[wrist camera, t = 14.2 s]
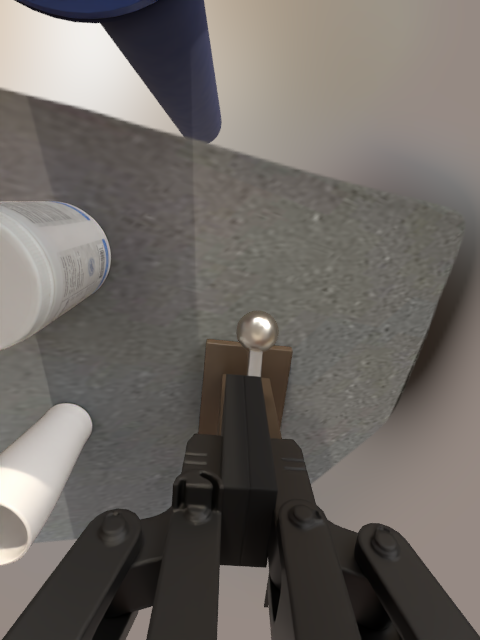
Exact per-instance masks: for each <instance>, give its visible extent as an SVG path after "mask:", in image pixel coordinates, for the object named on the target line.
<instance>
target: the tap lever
mask: <svg viewBox="0 0 480 640" xmlns="http://www.w3.org/2000/svg"><path fill="white" fill-rule="evenodd" d="M236 333H237V338H238V341H239V343H240V344H241V345H242V347H244V348H245V349H246V350H248V351H249V355H248V367H247V376H258V377H261V366H262V354H263V352H265V351H267V350H269V349H270V348H272V347H273V346H274V344H275V343H276V341H277V339H278V334H279V330H278V325H277V323H276V321H275V319H274V318H273V317H272V316H271V315H270V314H268V313H266V312H263V311H252V312H249V313H247V314H246V315H244V316H243V317H242V318H241V319H240V321H239V323H238V325H237V330H236Z"/></svg>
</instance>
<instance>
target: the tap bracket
mask: <svg viewBox="0 0 480 640" xmlns="http://www.w3.org/2000/svg"><path fill="white" fill-rule="evenodd" d="M292 352H293V351H292V348H291V347H285V346H275V345H274V346H273V347H272V348H270V349H269V350H267V351H265V352H263V354H262V366H261V380H262V387H263V394H264V400H265V407H266V414H267V420H268V427H269V434H270V438H278V439H282V438H281V433H280V427H281V421H282V414H283V408H284V402H285V396H286V390H287V383H288V377H289V371H290V365H291V359H292ZM248 355H249V351H248V350H246V349H245V348H244V347H242V345H241V344H240V343H239V342H233V341H223V340H213V339H207V342H206V351H205V363H204V374H203V386H202V397H201V409H200V420H199V432H198V434H207V435H221V427H222V416H223V405H224V394H225V383H226V374H233V375H246V376H247V367H248Z"/></svg>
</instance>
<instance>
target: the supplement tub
mask: <svg viewBox="0 0 480 640" xmlns="http://www.w3.org/2000/svg"><path fill="white" fill-rule="evenodd" d="M110 264H111V252H110V246H109V243H108V240H107V237H106V235H105V233H104V232H103V230H102V228H101V227H100V226H99V224H98V223H97V222H96V221H95V220H94V219H93V218H92V217H91V216H90V215H88V214H87V213H86V212H84V211H83V210H81V209H79V208H77V207H75V206H73V205H70V204H67V203H63V202H57V201H6V202H0V351H1V350H3V349H6V348H9V347H11V346H13V345H15V344H17V343H20V342H22V341H24V340H26V339H27V338H29V337H30V336H32V335H34V334H35V333H37V332H38V331H40V330H41V329H43V328H44V327H46V326H47V325H48V324H50V323H51V322H53V321H54V320H56V319H57V318H59V317H60V316H61V315H63V314H64V313H66V312H67V311H69V310H70V309H72V308H73V307H74V306H76V305H77V304H79V303H80V302H81V301H83V300H84V299H86V298H87V297H89V296H90V295H92V294H93V293H94V292H95V291H97V290H98V289H99V288H100V287H101V285H102V284H103V283H104V281H105V279H106V277H107V275H108V273H109V270H110Z"/></svg>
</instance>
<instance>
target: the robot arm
mask: <svg viewBox="0 0 480 640" xmlns="http://www.w3.org/2000/svg"><path fill="white" fill-rule="evenodd" d="M267 558H268V562H269V577H268V583H267V590H266V596H265V604H264V607H268V605H269V615H270V626H271V639H272V640H480V636H479V635H478V634H477V632H476V631H475V630H474V629H473V627H472V626H471V625H470V623H469V622H468V621H467V619H466V618H465V617H464V615H463V614H462V613H461V611H460V610H459V609H458V607H457V606H456V605H455V604H454V602H453V601H452V600H451V598H450V597H449V596H448V594H447V593H446V592H445V591H444V589H443V588H442V586H441V585H440V584H439V583H438V581H437V580H436V579H435V577H434V576H433V575H432V573H431V572H430V571H429V569H428V568H427V567H426V566H425V564H424V563H423V561H422V560H421V559H420V558H419V556H418V555H417V554H416V552H415V551H414V550H413V548H412V547H411V546H410V544H409V543H408V542H407V541H406V539H405V538H404V537H403V536H402V535H401V534H400V533H398V532H397V531H395V530H394V529H392V528H390V527H388V526H385V525H382V524H379V523H370V524H367V525H364V526H363V527H362V528H361V529H360V531H359V532H358V533H356V532H354V531H351V530H348V529H345V528H342V527H340V526H337V525H335V524H333V523H332V522H330V521H328V520H327V518H326V516H325V514H324V512H323V511H322V510H321V509H320V508H319V507H318V506H317V505H316V503H315V499H314V495H313V492H312V488H311V484H310V480H309V477H308V473H307V471H306V465H305V462H304V458H303V454H302V450H301V448H300V447H299V446H298V445H297V444H296V443H295V441H294V440H292V439H278V438H270V434H269V427H268V420H267V414H266V407H265V400H264V394H263V387H262V380H261V377H258V376H246V375H233V374H226V383H225V394H224V405H223V416H222V427H221V435H207V434H194V435H193V436H192V438H191V439H190V440H189V441H188V442H187V446H186V452H185V457H184V463H183V467H182V472H181V474H180V475H179V476H178V477H177V478H176V480H175V482H174V484H173V497H172V506H171V507H170V508H169V509H168V510H167V511H165V512H163V513H162V514H160V515H157V516H154V517H150V518H146V519H141V520H140V519H139V518H138V516H137V515H136V514H135V513H133V512H131V511H129V510H126V509H114V510H109V511H106V512H104V513H102V514H100V515H98V516H97V517H96V518H95V519H94V520H93V521H91V522H90V523H89V525H88V526H87V527H86V529H85V530H84V531H83V533H82V534H81V535H80V537H79V538H78V539H77V541H76V542H75V543H74V545H73V546H72V547H71V549H70V550H69V551H68V553H67V554H66V555H65V557H64V558H63V559H62V561H61V562H60V563H59V565H58V566H57V567H56V569H55V570H54V571H53V573H52V574H51V576H50V577H49V578H48V579H47V581H46V582H45V583H44V585H43V586H42V587H41V589H40V590H39V591H38V593H37V594H36V596H35V597H34V598H33V599H32V601H31V602H30V603H29V604H28V606H27V607H26V608H25V610H24V611H23V613H22V614H21V615H20V616H19V618H18V619H17V620H16V622H15V623H14V624H13V626H12V627H11V628H10V630H9V631H8V632H7V634H6V635H5V636H4V638H3V639H2V640H126V637H127V635H128V633H129V631H130V629H131V627H132V625H133V622H134V620H135V618H136V616H137V614H138V610H141V609H144V608H147V607H151V606H153V609H152V613H151V619H150V624H149V629H148V634H147V639H146V640H217V622H218V594H219V567H220V565H232V566H250V567H266V565H267Z"/></svg>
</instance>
